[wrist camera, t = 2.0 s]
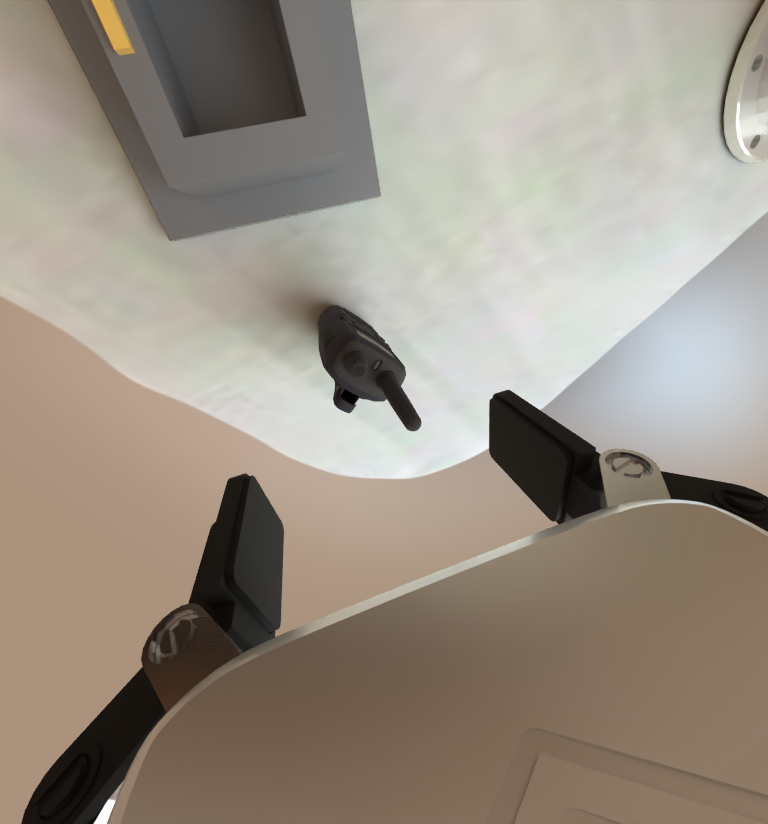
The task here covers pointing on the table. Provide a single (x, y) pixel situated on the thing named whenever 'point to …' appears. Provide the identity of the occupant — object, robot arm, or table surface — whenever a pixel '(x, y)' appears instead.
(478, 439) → the table surface
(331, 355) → the two-way radio
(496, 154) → the table surface
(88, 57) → the charging dock
